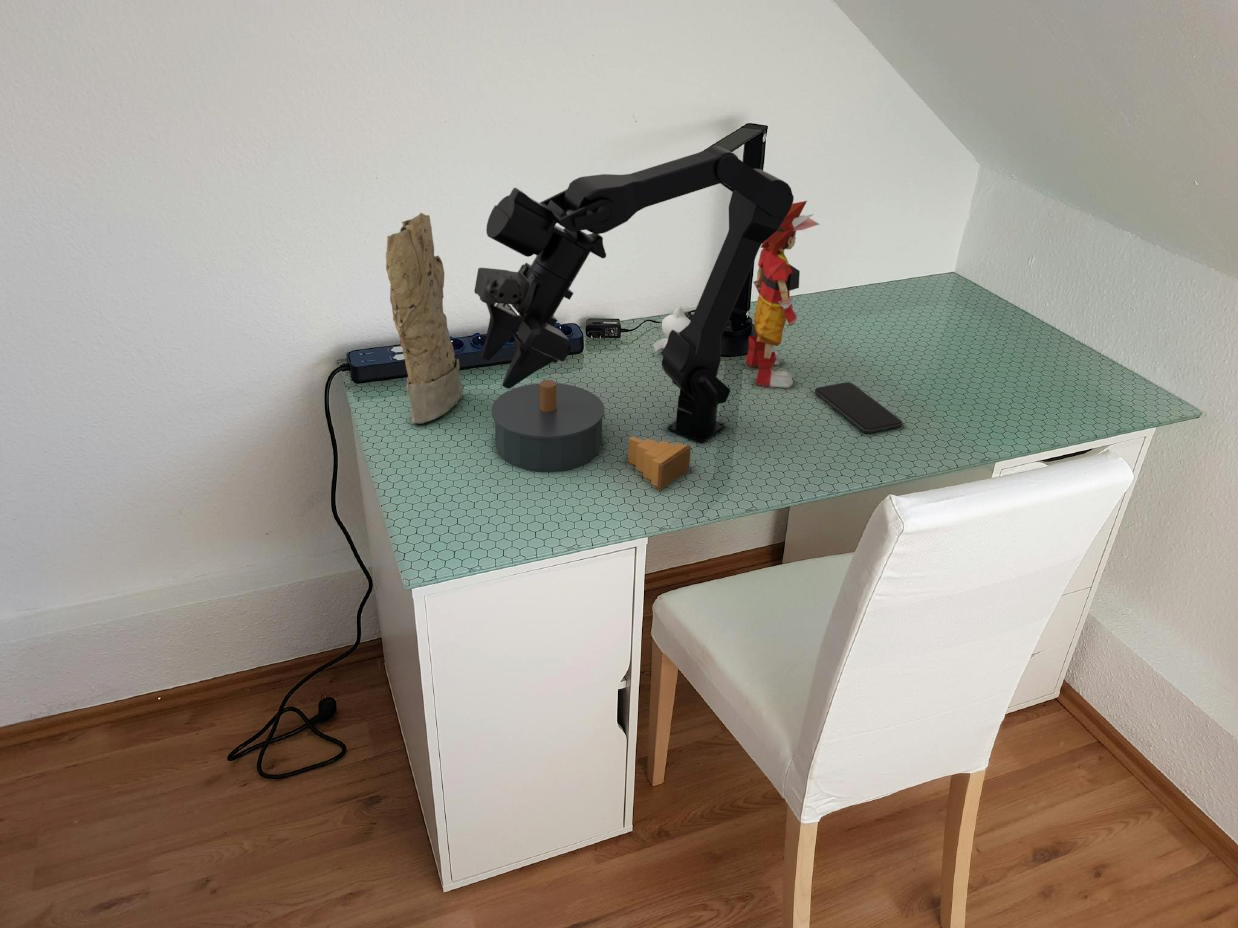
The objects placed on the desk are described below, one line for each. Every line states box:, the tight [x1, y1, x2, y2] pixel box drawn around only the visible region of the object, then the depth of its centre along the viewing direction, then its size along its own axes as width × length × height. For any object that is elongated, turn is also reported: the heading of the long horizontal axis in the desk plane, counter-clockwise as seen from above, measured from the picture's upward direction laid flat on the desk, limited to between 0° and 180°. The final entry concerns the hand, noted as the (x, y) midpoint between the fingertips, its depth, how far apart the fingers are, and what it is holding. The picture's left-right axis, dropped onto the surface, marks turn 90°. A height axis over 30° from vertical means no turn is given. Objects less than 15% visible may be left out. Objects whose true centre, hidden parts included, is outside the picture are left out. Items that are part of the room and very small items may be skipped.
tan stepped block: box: [627, 435, 692, 492], centre depth 138 cm, size 8×7×4 cm
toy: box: [744, 200, 820, 389], centre depth 159 cm, size 12×9×30 cm
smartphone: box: [814, 381, 903, 434], centre depth 156 cm, size 7×1×15 cm
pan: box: [494, 419, 603, 473], centre depth 143 cm, size 15×15×6 cm
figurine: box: [652, 305, 691, 353], centre depth 166 cm, size 12×5×11 cm, turn 33°
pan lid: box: [491, 379, 605, 439], centre depth 141 cm, size 16×16×5 cm
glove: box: [385, 212, 464, 424], centre depth 147 cm, size 14×10×30 cm
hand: (494, 372), depth 131 cm, fingers open, 9 cm apart
